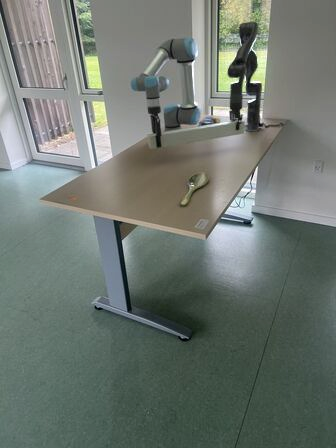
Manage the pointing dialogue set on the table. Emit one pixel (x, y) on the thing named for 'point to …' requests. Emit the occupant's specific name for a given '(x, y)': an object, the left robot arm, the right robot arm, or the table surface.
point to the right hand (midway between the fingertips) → (235, 128)
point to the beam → (196, 134)
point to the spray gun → (209, 121)
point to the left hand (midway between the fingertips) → (157, 145)
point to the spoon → (195, 184)
